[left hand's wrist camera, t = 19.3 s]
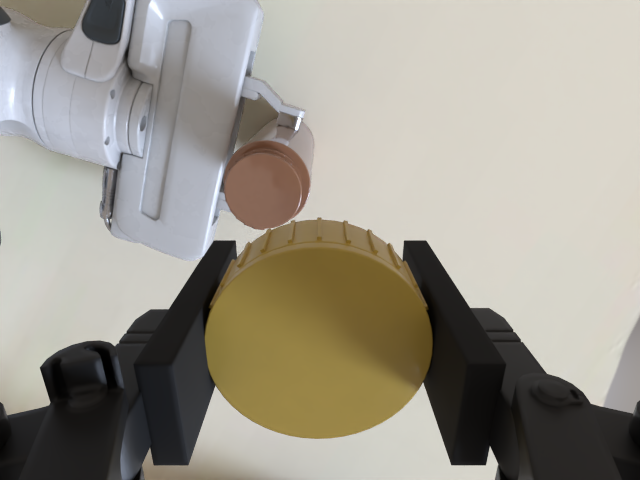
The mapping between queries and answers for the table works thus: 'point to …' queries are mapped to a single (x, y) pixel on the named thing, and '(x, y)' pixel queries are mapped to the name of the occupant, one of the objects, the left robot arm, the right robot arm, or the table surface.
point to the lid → (318, 331)
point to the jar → (270, 176)
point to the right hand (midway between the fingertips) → (291, 161)
